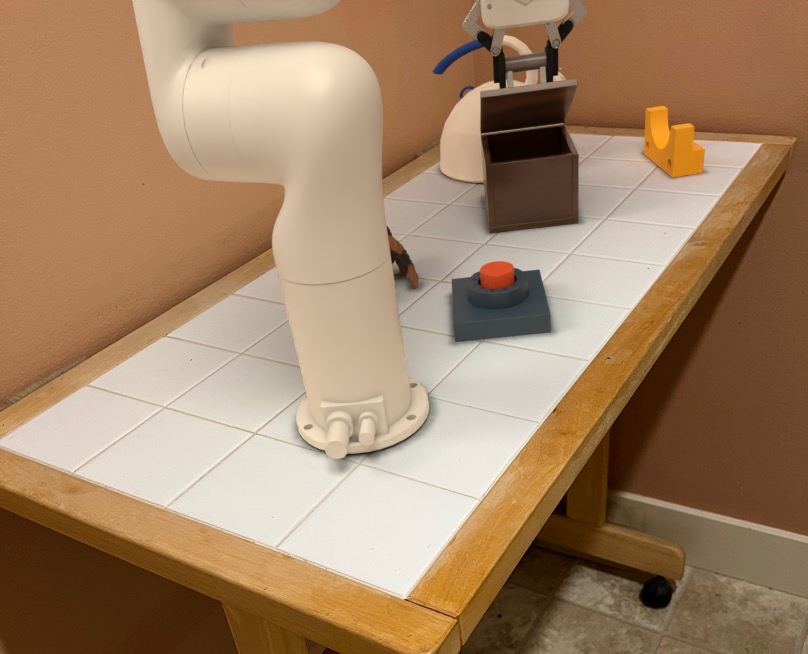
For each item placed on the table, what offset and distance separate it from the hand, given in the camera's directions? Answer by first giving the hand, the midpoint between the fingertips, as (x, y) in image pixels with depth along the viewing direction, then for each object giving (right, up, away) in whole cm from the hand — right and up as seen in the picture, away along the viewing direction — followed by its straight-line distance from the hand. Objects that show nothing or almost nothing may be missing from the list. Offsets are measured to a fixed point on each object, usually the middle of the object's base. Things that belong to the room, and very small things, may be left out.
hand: (525, 84), depth 101 cm
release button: (-5, -28, -14) cm, 32 cm away
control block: (-5, -31, -11) cm, 33 cm away
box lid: (+1, -2, +4) cm, 4 cm away
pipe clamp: (+24, -2, +19) cm, 31 cm away
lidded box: (+2, -12, +11) cm, 16 cm away
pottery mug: (-18, -25, -1) cm, 31 cm away
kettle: (+1, +2, +29) cm, 29 cm away
